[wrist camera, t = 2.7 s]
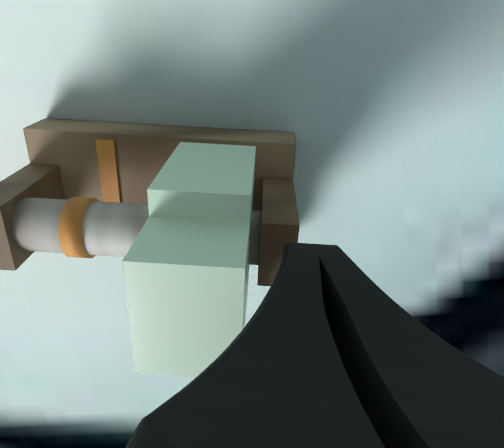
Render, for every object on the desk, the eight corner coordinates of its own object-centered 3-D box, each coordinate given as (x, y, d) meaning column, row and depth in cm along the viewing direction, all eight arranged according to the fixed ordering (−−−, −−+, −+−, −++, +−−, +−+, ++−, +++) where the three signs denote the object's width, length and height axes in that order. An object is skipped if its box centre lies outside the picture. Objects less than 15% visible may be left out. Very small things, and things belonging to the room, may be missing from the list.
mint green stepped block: (256, 146, 13) (246, 237, 8) (249, 264, 15) (238, 401, 10) (180, 142, 13) (118, 229, 8) (183, 259, 15) (137, 394, 10)
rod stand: (293, 132, 15) (304, 183, 10) (283, 239, 17) (288, 320, 12) (45, 118, 15) (-51, 162, 10) (64, 226, 17) (-10, 301, 12)
